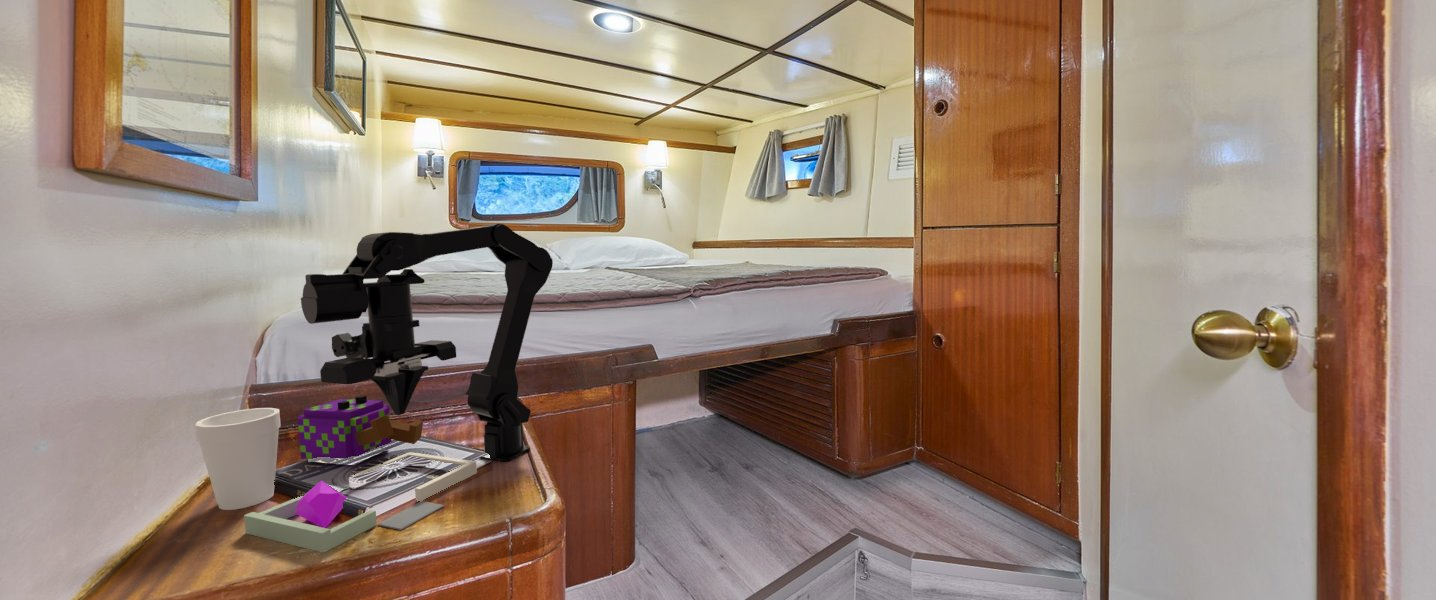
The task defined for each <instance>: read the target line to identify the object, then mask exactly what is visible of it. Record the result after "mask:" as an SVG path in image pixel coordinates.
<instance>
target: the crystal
mask: <svg viewBox="0 0 1436 600" xmlns="http://www.w3.org/2000/svg"><path fill="white" fill-rule="evenodd" d="M304 494H305V495H304ZM304 494H303V495H304V496H303V497H301V498H300V500H299V502H298V505H297V509H296V514H297V516H299V517H302V518H303V519H305V520H307V521H309V522H311V523H312V524H314V525H315V526H318V527H322V528H325V527H326V528H327V527H328V526H329V525H330V523H332V521H333V520H334V519H335V518H336V517H337V515H339V513H340V512H341V511H342V509H343V508H344V507H343V502H344V500H346V498H348V497H347V496H346V495H345V494H343V493H342V492H338V491H337V490H335V489H334V488H332V487H331V486H329V485H328V483H326V482H325V481H324V480H320V481H319V482H318V483H316V484H315V485H314V486H313V487H312V488H311V489H310V490H308V491H307V492H306V493H304Z"/></svg>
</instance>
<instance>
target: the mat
mask: <svg viewBox="0 0 1436 600" xmlns="http://www.w3.org/2000/svg"><path fill="white" fill-rule="evenodd" d="M444 507H445V505H444V504H440V503H435V502H429V501H425V500H424V501H421V502H417V503H415V504H414V505H411V506H409V507H407V508H405V509H403V510H402V511H399V512H398V513H395V514H394V515H392V516H390V517H389V518H386V519H384V520H382V521H381V522H378V523H377V526H379V527H384V528H388V529H395V530H399V531H403V530H404V529H406V528H408V527H409V526H412V525H413V524H415V523H417V522H419V521H420V520H422V519H424V518H426V517H428V516H430V515H431V514H433V513H435V512H436V511H439V510H440V509H442V508H444Z"/></svg>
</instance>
